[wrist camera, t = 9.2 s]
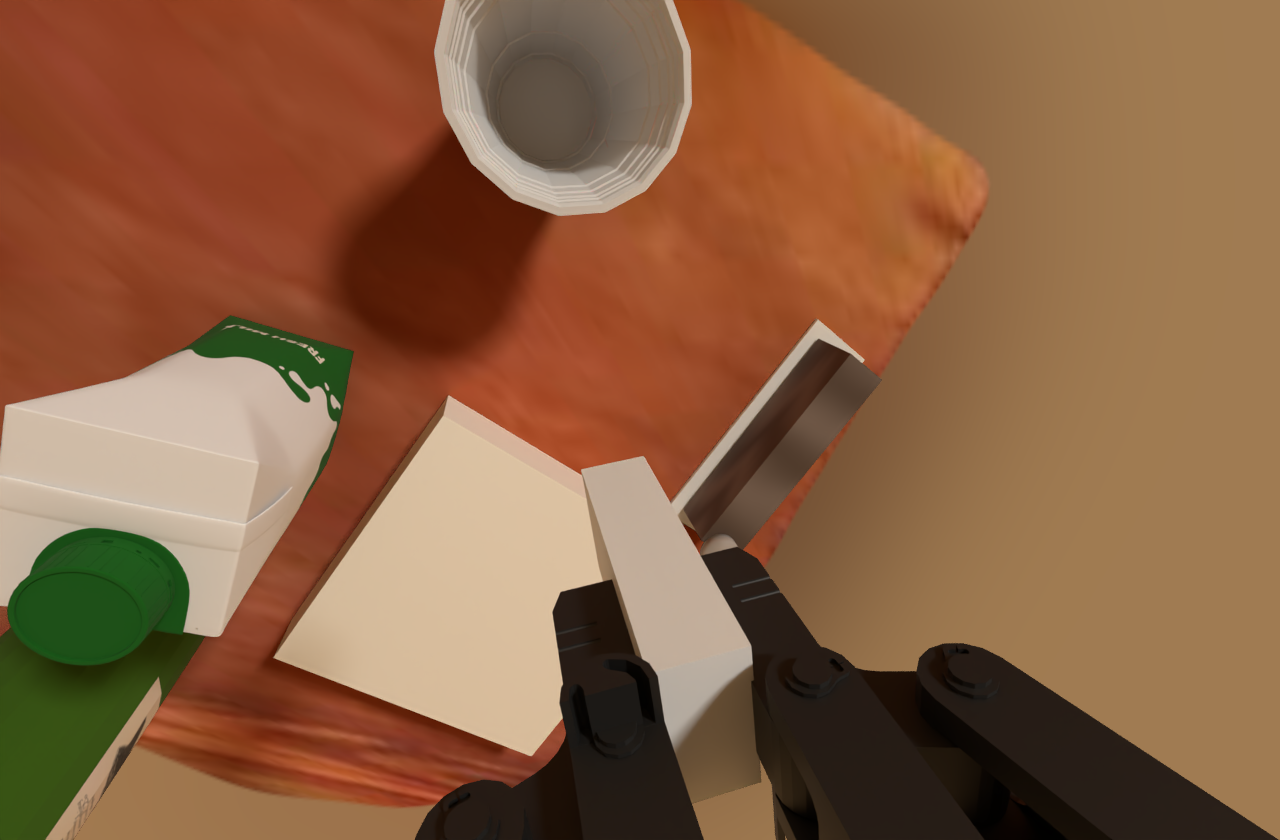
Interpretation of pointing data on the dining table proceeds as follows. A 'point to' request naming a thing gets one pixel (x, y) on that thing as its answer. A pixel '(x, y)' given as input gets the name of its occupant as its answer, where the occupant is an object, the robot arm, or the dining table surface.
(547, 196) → the plastic cup
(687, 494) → the mat
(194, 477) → the milk carton
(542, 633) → the cream flat square box
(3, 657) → the wine bottle
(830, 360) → the dark grey block
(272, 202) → the dining table surface
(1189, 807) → the robot arm
